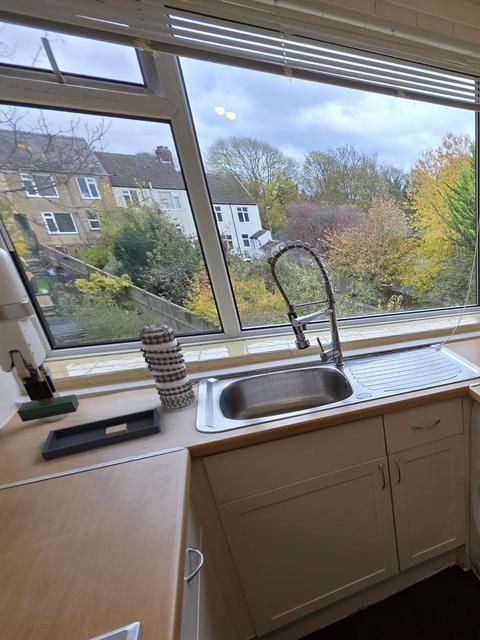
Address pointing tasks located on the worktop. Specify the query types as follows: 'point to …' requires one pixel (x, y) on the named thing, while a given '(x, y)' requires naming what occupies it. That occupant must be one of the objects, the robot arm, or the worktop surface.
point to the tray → (99, 433)
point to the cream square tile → (116, 430)
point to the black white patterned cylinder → (166, 366)
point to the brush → (48, 406)
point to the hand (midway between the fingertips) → (44, 395)
